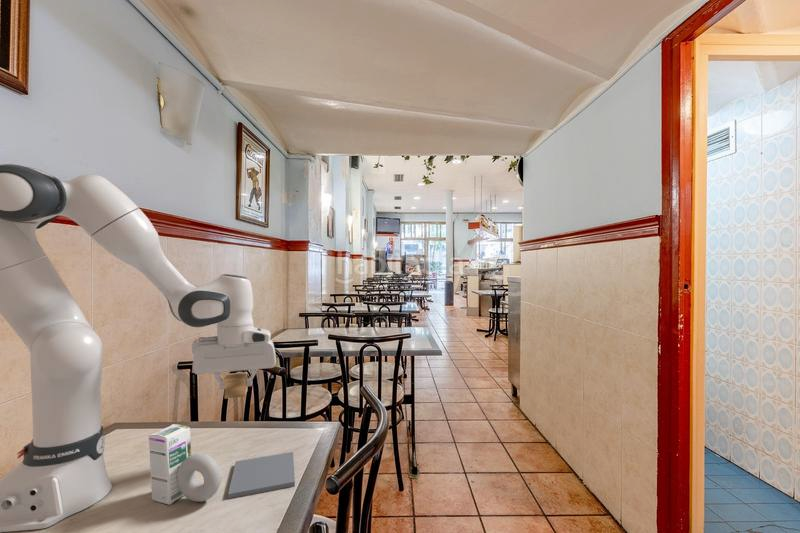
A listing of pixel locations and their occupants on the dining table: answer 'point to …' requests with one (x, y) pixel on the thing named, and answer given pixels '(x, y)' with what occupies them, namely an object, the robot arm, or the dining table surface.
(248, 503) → the dining table surface
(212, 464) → the donut
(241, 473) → the slate mat
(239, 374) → the oak cube
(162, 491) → the syrup box
